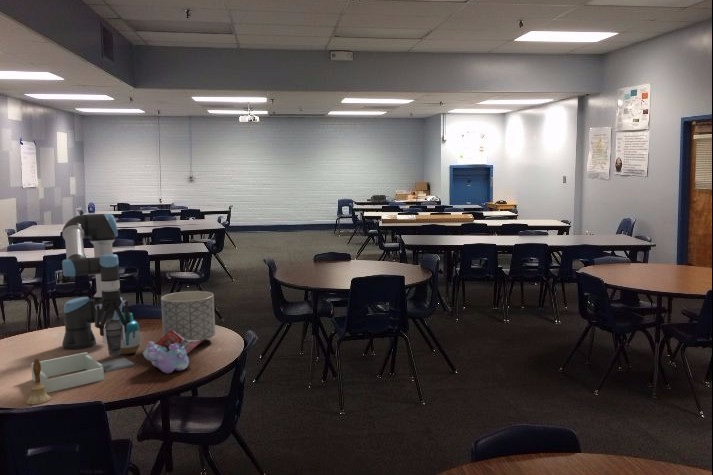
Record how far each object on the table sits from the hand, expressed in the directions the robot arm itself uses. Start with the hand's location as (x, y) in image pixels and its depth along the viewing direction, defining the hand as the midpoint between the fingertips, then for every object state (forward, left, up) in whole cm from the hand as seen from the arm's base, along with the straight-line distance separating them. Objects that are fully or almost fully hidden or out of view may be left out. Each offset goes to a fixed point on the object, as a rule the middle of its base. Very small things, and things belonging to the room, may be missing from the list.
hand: (113, 340), depth 264 cm
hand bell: (+22, -36, -11) cm, 44 cm away
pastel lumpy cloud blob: (+20, +17, -11) cm, 29 cm away
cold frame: (+5, -21, -11) cm, 24 cm away
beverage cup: (0, 0, -6) cm, 6 cm away
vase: (-14, +11, -11) cm, 21 cm away
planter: (-10, +40, -11) cm, 43 cm away
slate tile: (0, 0, -11) cm, 11 cm away
